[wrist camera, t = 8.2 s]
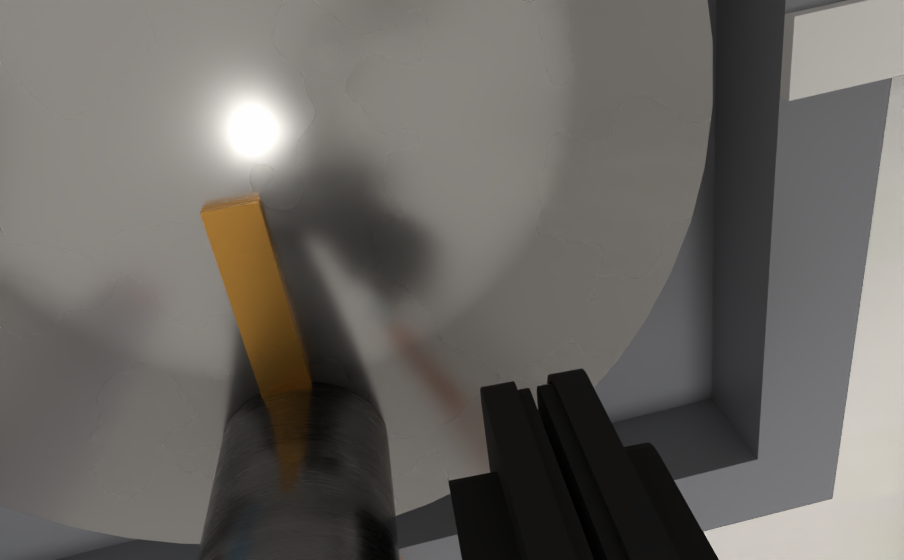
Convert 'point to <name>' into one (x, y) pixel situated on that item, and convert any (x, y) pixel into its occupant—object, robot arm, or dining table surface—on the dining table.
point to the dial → (319, 247)
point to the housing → (719, 285)
